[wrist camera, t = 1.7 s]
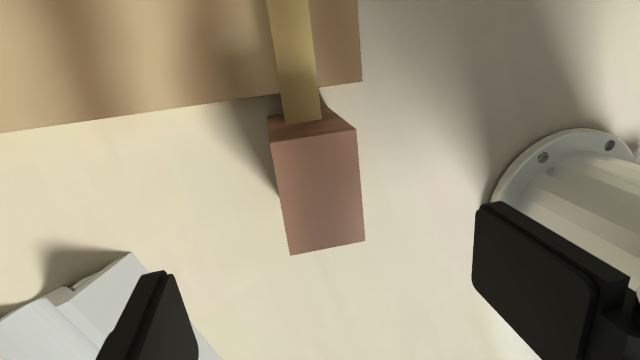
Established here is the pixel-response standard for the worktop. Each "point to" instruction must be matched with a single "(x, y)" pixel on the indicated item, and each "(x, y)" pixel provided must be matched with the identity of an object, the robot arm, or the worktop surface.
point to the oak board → (152, 55)
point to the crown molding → (77, 317)
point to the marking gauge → (310, 143)
